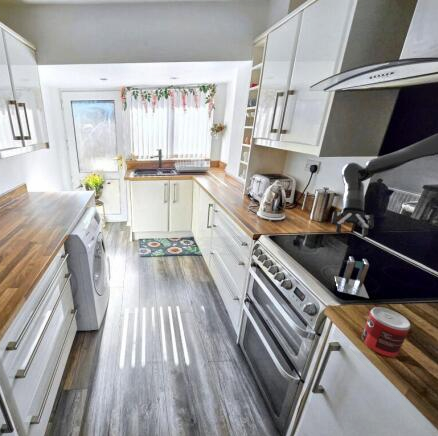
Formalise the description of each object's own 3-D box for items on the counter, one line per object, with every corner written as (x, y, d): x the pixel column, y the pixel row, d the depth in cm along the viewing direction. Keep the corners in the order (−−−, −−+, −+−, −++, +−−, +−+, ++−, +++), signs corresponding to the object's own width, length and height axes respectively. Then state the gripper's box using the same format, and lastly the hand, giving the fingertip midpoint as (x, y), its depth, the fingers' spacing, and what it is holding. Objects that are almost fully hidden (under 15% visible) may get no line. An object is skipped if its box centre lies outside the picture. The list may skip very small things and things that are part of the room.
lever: (341, 264, 100) (342, 258, 100) (357, 267, 98) (358, 261, 98) (349, 266, 90) (350, 260, 90) (367, 269, 87) (368, 263, 87)
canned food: (371, 332, 74) (382, 304, 70) (403, 353, 67) (418, 323, 63) (353, 339, 72) (364, 310, 68) (385, 362, 65) (399, 331, 61)
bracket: (333, 278, 100) (341, 251, 96) (361, 284, 96) (371, 256, 91) (337, 293, 91) (346, 264, 87) (368, 300, 87) (379, 270, 82)
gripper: (370, 208, 108) (369, 241, 103) (331, 204, 115) (328, 235, 110) (377, 200, 102) (376, 234, 97) (336, 196, 109) (333, 228, 104)
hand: (351, 234), depth 104 cm, fingers open, 8 cm apart
